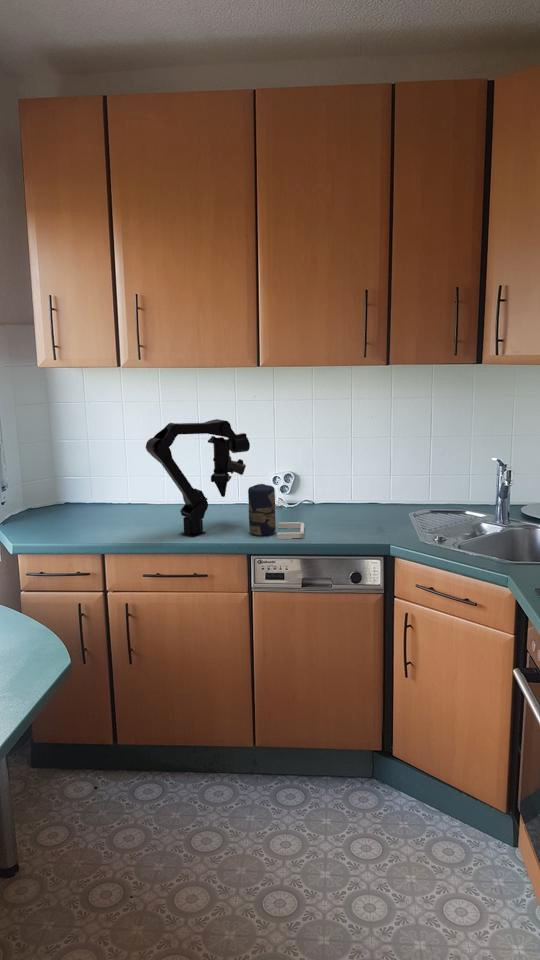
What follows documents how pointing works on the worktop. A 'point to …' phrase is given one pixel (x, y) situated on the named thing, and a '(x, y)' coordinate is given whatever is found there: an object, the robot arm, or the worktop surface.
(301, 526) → the block
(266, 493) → the canister
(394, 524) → the worktop surface
